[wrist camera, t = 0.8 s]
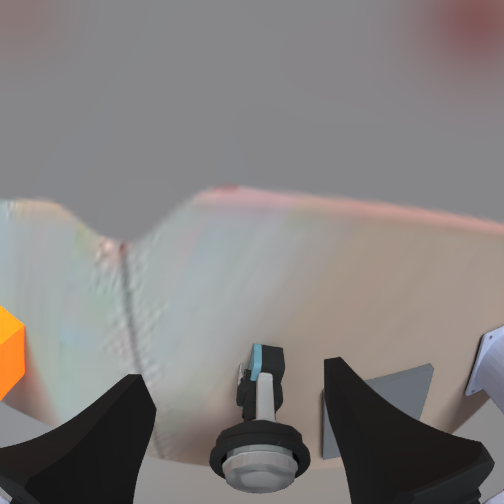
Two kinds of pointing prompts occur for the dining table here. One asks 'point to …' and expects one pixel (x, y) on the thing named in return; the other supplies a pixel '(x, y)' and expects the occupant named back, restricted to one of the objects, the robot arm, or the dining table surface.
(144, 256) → the dining table surface
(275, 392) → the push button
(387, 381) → the rubber pad
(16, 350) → the orange juice
